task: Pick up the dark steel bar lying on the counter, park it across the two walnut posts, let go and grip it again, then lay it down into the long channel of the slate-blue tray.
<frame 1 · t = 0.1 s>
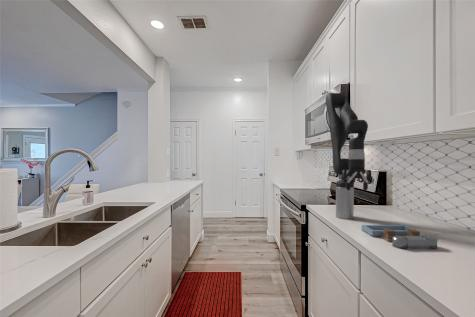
hand: (356, 190, 124), 17 cm above the worktop, fingers open, 8 cm apart
walnut posts: (401, 239, 100), on the worktop
slate-blue tray: (389, 233, 108), on the worktop
steel bar: (414, 246, 93), on the worktop
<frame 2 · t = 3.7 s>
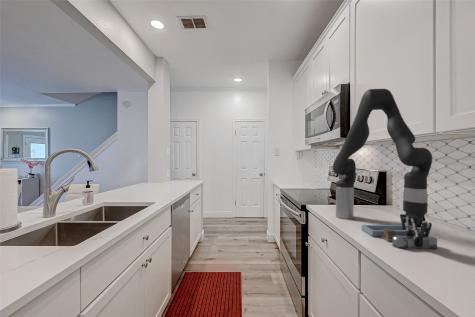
hand: (414, 244, 93), 1 cm above the worktop, fingers closed on steel bar, 4 cm apart
steel bar: (414, 246, 93), on the worktop, touching gripper
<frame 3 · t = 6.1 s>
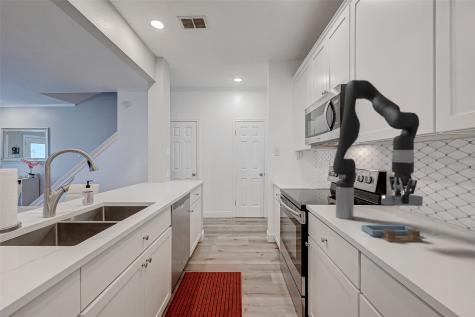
hand: (401, 202, 100), 15 cm above the worktop, fingers closed on steel bar, 4 cm apart
steel bar: (401, 204, 100), point 15 cm above the worktop, touching gripper
when the fingers open (6 cm above the worktop, at t = 8.4 s): steel bar drops 1 cm, resting on walnut posts.
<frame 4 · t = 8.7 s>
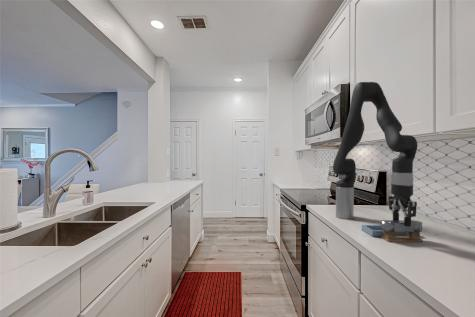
hand: (401, 223, 100), 7 cm above the worktop, fingers open, 6 cm apart
steel bar: (401, 230, 100), point 4 cm above the worktop, touching walnut posts
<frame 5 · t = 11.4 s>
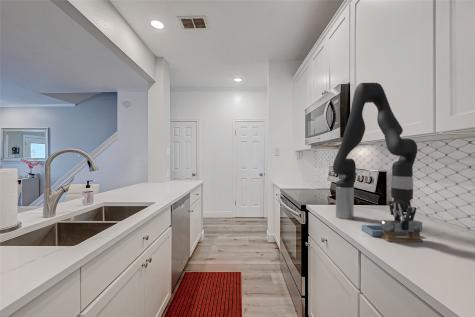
hand: (401, 228, 100), 5 cm above the worktop, fingers closed on steel bar, 4 cm apart
steel bar: (401, 230, 100), point 4 cm above the worktop, touching gripper, walnut posts
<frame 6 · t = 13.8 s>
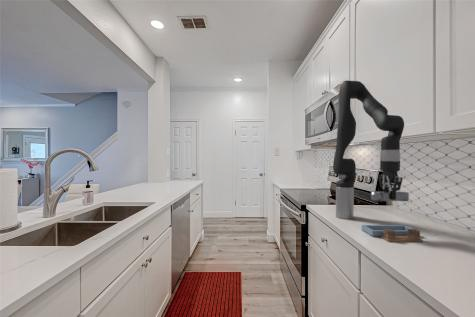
hand: (389, 198, 108), 16 cm above the worktop, fingers closed on steel bar, 4 cm apart
steel bar: (389, 200, 108), point 15 cm above the worktop, touching gripper
when the fingers open (3 cm above the worktop, at t = 16.4 s): steel bar drops 1 cm, resting on slate-blue tray.
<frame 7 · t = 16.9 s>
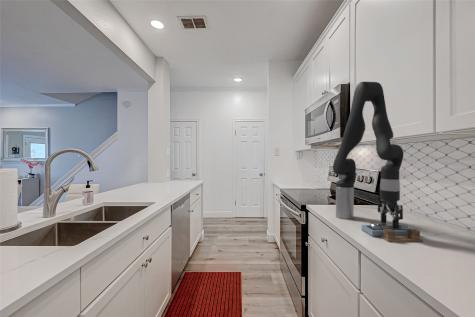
hand: (389, 225, 108), 4 cm above the worktop, fingers open, 8 cm apart
steel bar: (389, 232, 108), resting on slate-blue tray
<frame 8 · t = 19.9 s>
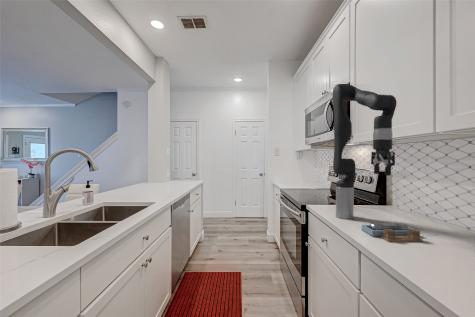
hand: (382, 174, 111), 26 cm above the worktop, fingers open, 8 cm apart
nothing on the worktop moved.
at the end: steel bar 0.1 cm off-centre on the slate-blue tray, point 0.5 cm above the slate-blue tray's base; steel bar tilted 0°; the gripper is holding nothing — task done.
